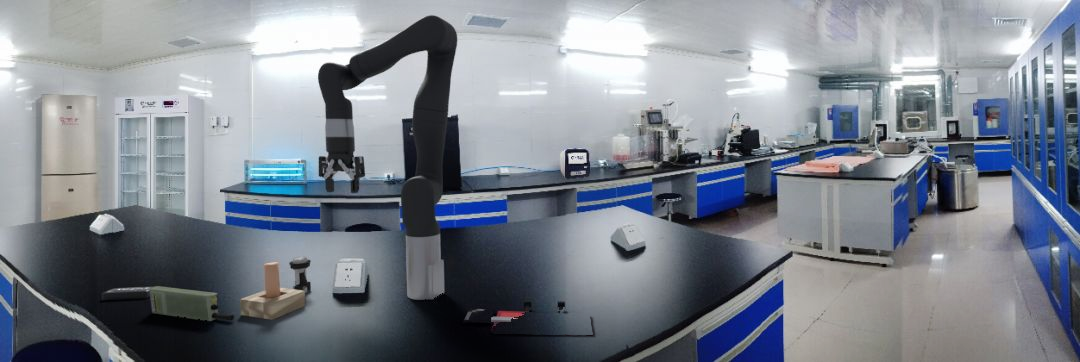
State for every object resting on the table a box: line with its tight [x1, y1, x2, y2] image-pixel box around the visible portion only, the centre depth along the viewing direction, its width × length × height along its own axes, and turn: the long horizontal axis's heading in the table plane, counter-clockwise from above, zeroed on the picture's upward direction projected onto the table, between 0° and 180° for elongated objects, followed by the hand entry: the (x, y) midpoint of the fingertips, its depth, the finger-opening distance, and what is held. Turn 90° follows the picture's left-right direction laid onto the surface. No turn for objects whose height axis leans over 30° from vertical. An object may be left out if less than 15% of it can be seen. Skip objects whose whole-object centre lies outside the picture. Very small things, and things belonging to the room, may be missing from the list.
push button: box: [288, 256, 312, 294], centre depth 129 cm, size 7×5×10 cm
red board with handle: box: [462, 300, 566, 331], centre depth 109 cm, size 30×3×15 cm
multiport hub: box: [101, 286, 154, 301], centre depth 128 cm, size 4×11×2 cm, turn 99°
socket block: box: [239, 287, 306, 320], centre depth 117 cm, size 10×10×4 cm
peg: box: [263, 261, 281, 299], centre depth 116 cm, size 3×3×12 cm
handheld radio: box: [149, 285, 235, 322], centre depth 113 cm, size 7×3×25 cm
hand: (342, 192), depth 132 cm, fingers open, 8 cm apart
